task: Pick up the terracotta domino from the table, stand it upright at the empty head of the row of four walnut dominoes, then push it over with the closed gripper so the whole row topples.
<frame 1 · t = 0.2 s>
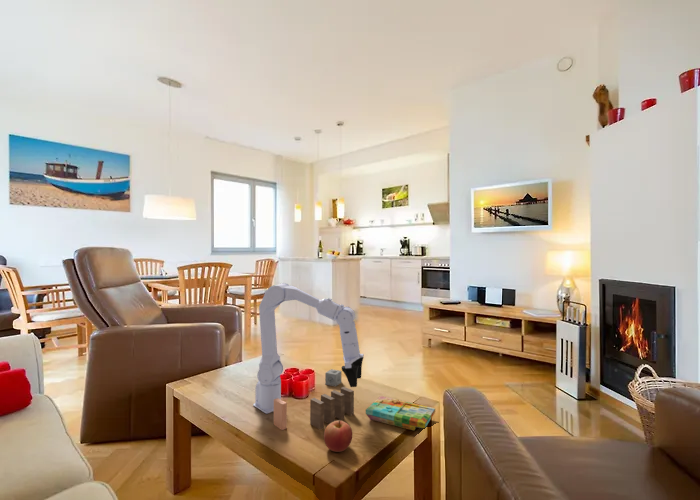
hand: (356, 382, 118), 11 cm above the table, tool pointing down, fingers open, 7 cm apart
domino 2: (317, 426, 109), on the table
domino 4: (337, 416, 115), on the table
dice cube: (333, 384, 144), on the table
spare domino: (280, 426, 108), on the table
apple: (338, 449, 96), on the table
domino 3: (327, 421, 112), on the table
puzzle game: (400, 421, 113), on the table
domino 5: (347, 412, 118), on the table
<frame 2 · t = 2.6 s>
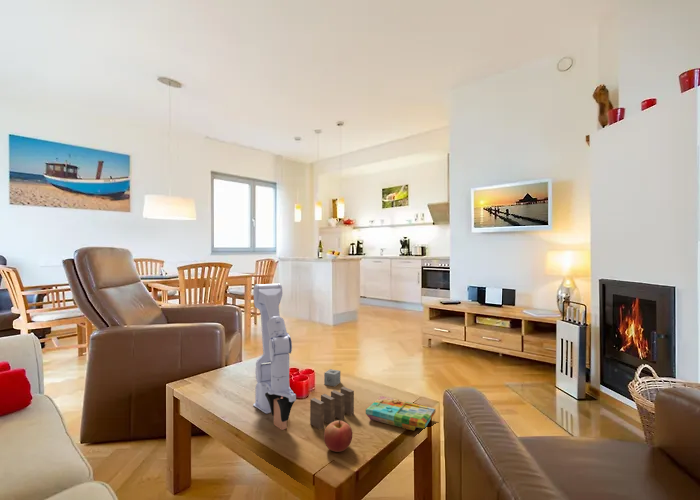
hand: (280, 417, 108), 3 cm above the table, tool pointing down, fingers closed on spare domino, 5 cm apart
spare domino: (280, 426, 108), on the table, touching gripper
when the fingers open (4 cm above the table, at t = 6.9 s): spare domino drops 1 cm, on the table.
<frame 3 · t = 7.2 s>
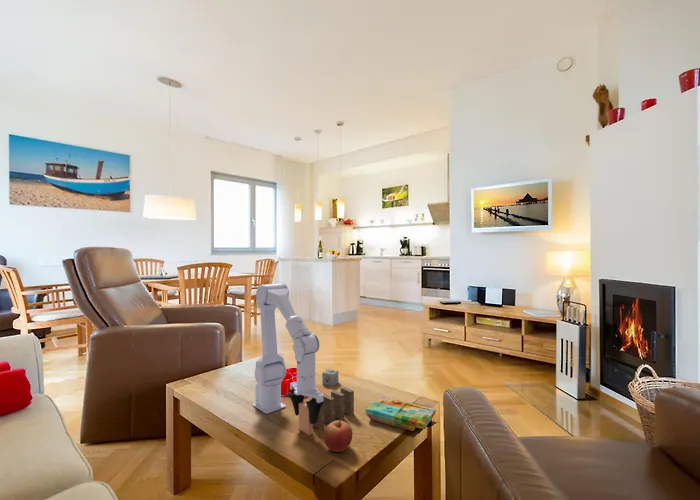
hand: (305, 418, 106), 4 cm above the table, tool pointing down, fingers open, 7 cm apart
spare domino: (305, 431, 106), on the table
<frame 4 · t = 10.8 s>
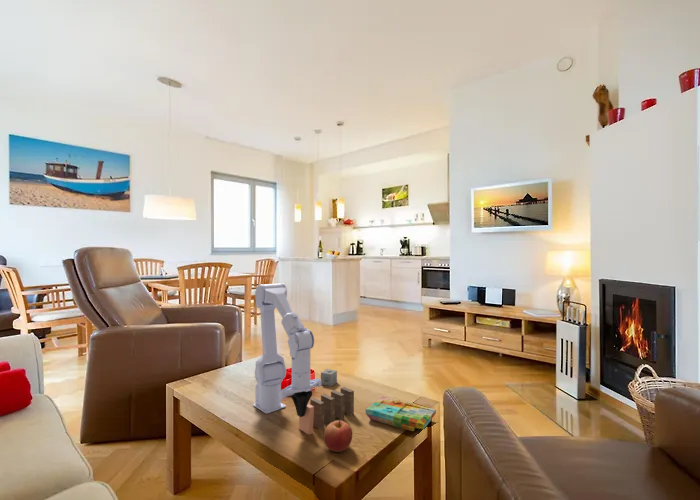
hand: (300, 415, 104), 5 cm above the table, tool pointing down, fingers closed
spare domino: (305, 430, 106), on the table, touching gripper
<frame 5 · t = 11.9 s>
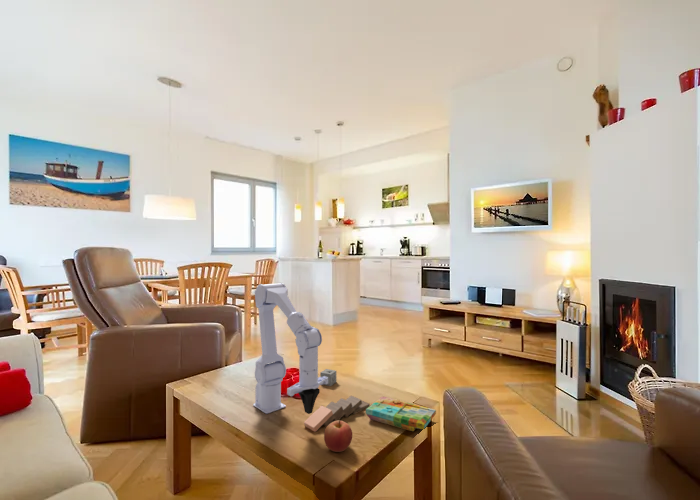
hand: (308, 412, 106), 5 cm above the table, tool pointing down, fingers closed
domino 2: (320, 422, 110), point 1 cm above the table, tilted 69°, touching domino 3, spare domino
domino 4: (340, 413, 116), point 1 cm above the table, tilted 74°, touching domino 3
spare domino: (309, 426, 107), point 1 cm above the table, tilted 69°, touching domino 2
domino 3: (330, 417, 113), point 1 cm above the table, tilted 69°, touching domino 2, domino 4
domino 5: (348, 411, 119), on the table, tilted 90°
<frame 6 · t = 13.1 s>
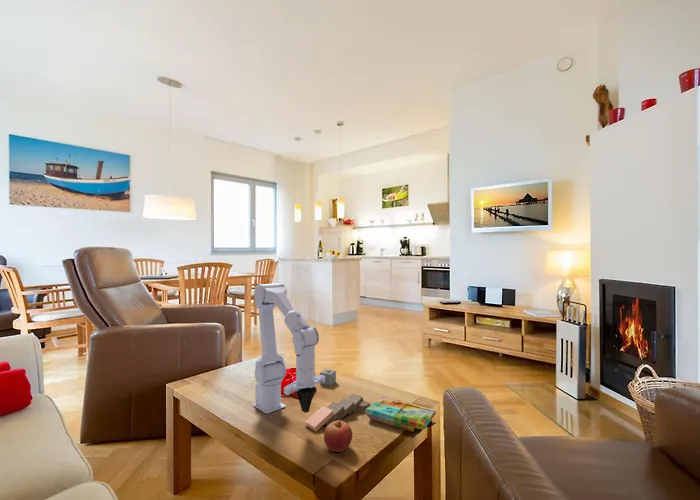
hand: (305, 411, 106), 6 cm above the table, tool pointing down, fingers closed
domino 4: (343, 411, 117), point 1 cm above the table, tilted 72°
domino 3: (332, 417, 113), point 1 cm above the table, tilted 71°, touching domino 2
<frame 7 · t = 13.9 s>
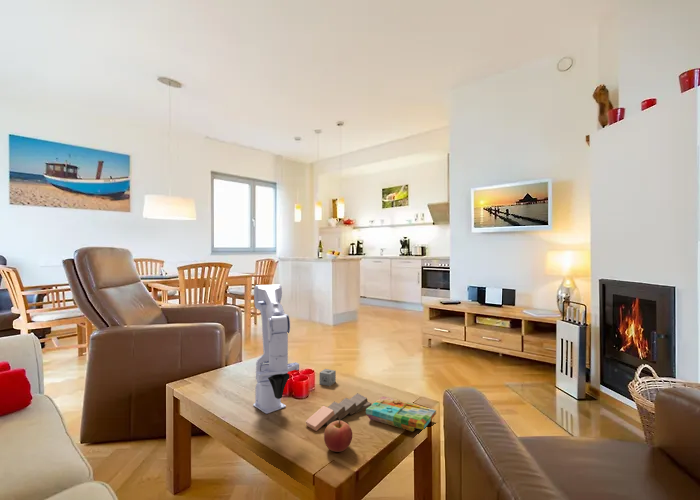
hand: (278, 397, 107), 10 cm above the table, tool pointing down, fingers closed
domino 4: (345, 410, 118), point 1 cm above the table, tilted 73°, touching domino 3, domino 5
domino 3: (334, 416, 114), point 1 cm above the table, tilted 72°, touching domino 2, domino 4
domino 5: (350, 410, 119), on the table, tilted 90°, touching domino 4
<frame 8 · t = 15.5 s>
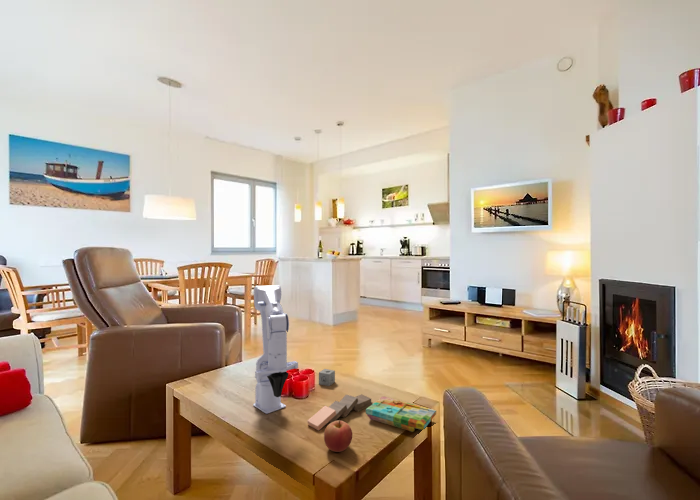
hand: (277, 395, 108), 10 cm above the table, tool pointing down, fingers closed
domino 2: (325, 420, 111), point 1 cm above the table, tilted 72°, touching domino 3, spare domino
domino 4: (350, 405, 120), point 1 cm above the table, tilted 89°, touching domino 3
domino 3: (338, 413, 115), point 1 cm above the table, tilted 69°, touching domino 2, domino 4
domino 5: (352, 409, 120), on the table, tilted 90°
at the end: domino 5 tilted 90°; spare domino tilted 73°; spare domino 2.3 cm from the target spot, point 0.8 cm above the table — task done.
